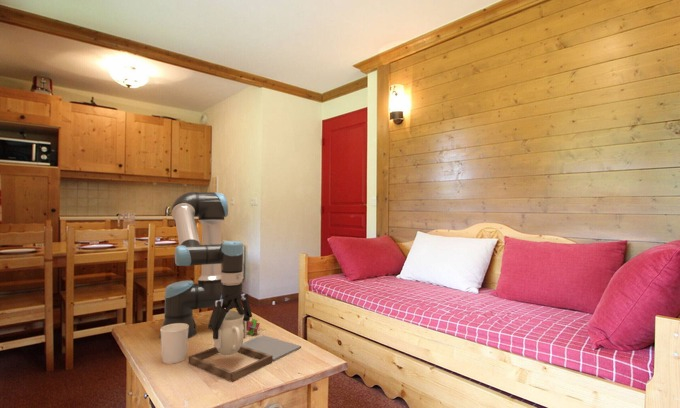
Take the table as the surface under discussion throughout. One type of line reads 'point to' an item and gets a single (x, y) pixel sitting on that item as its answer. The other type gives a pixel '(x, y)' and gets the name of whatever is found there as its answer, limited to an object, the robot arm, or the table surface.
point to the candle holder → (174, 342)
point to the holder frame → (227, 374)
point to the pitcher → (231, 333)
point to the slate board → (271, 346)
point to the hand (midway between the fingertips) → (230, 342)
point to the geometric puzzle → (252, 326)
